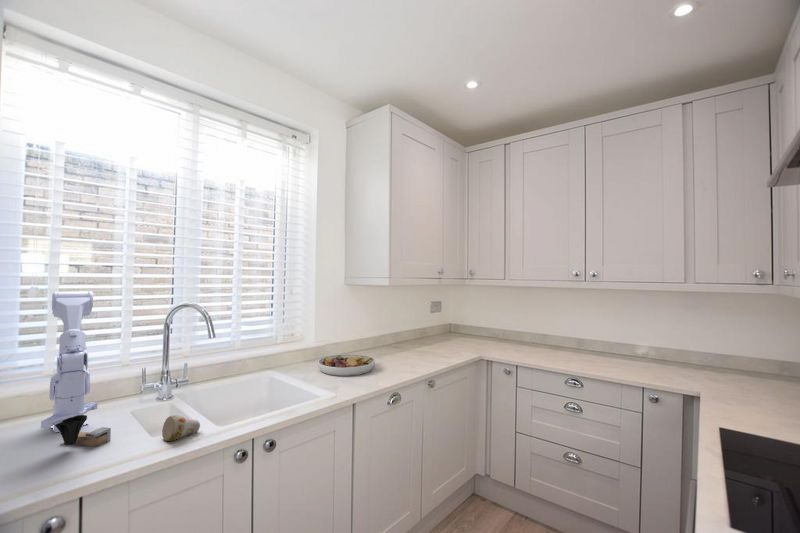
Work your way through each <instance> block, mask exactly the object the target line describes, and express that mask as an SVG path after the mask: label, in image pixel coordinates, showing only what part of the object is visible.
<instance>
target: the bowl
mask: <svg viewBox="0 0 800 533" xmlns="http://www.w3.org/2000/svg"><path fill="white" fill-rule="evenodd" d="M375 365H376V359H375V358H373V357H371V356H368V355H362V354H335V355H329V356H325V357H322V358H320V359H318V360H317V368H318V369H319V370H320V371H321V372H322V373H323V374H326V375H330V376H335V377H353V376H359V375H364V374H367V373H369V372H371V371H372V370H373V369H374V368H375Z"/></svg>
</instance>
